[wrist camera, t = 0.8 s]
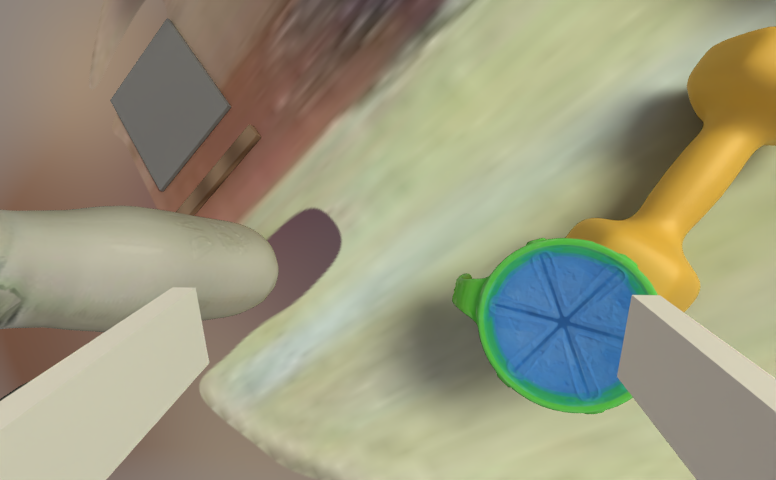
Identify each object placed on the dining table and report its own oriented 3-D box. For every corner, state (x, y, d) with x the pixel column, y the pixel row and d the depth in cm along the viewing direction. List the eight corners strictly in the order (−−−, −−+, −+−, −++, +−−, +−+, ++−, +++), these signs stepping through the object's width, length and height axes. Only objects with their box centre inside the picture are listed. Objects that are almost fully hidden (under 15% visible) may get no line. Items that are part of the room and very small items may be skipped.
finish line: (253, 126, 48) (249, 124, 48) (261, 137, 48) (256, 135, 47) (165, 231, 53) (160, 231, 53) (171, 242, 53) (165, 241, 52)
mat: (170, 20, 56) (167, 18, 56) (231, 107, 50) (228, 105, 50) (113, 101, 61) (110, 100, 60) (163, 191, 54) (159, 190, 54)
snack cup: (690, 285, 29) (756, 288, 20) (642, 413, 30) (683, 475, 20) (491, 224, 35) (470, 205, 26) (454, 331, 36) (419, 350, 26)
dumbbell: (651, 326, 30) (682, 344, 23) (549, 257, 33) (546, 254, 26) (834, 115, 27) (942, 54, 19) (701, 62, 30) (748, -7, 23)
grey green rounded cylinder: (218, 286, 49) (-156, 303, 23) (250, 213, 47) (-108, 147, 22) (272, 327, 45) (-107, 403, 19) (307, 249, 44) (-46, 219, 18)
